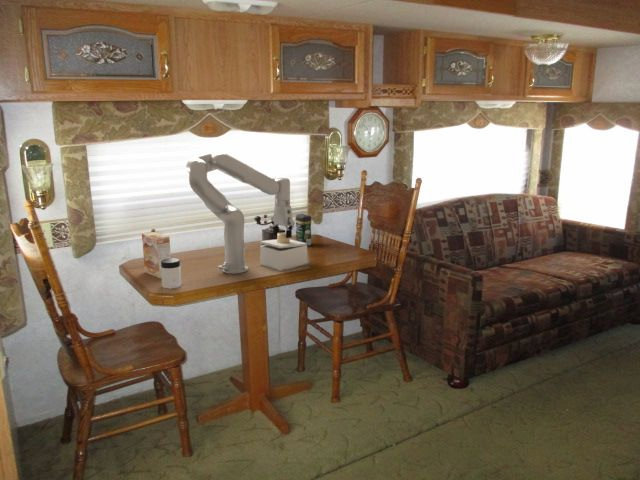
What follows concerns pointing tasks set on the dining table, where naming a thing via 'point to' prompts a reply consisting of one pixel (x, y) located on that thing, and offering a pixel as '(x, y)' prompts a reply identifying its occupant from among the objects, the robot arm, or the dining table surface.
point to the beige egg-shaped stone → (282, 238)
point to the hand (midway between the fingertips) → (282, 236)
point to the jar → (171, 273)
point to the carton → (283, 257)
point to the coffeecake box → (155, 252)
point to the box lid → (284, 245)
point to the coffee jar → (303, 228)
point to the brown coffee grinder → (267, 231)
